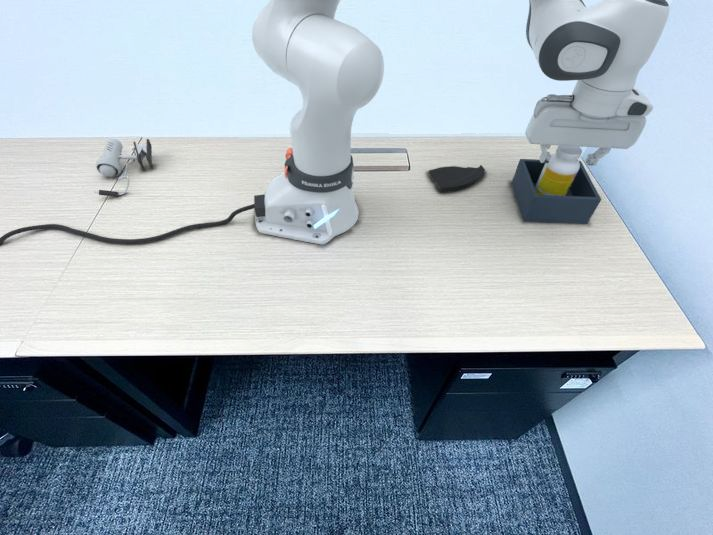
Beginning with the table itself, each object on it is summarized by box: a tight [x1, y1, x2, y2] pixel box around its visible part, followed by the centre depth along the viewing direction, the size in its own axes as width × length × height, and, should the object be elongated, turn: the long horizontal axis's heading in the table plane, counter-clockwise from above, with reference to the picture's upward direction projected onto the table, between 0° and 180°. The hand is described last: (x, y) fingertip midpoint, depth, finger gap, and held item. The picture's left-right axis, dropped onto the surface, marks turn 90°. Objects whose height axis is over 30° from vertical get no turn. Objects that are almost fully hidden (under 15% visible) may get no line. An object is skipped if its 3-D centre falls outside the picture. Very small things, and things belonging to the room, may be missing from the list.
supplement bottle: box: [535, 145, 583, 196], centre depth 86 cm, size 7×7×13 cm
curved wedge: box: [428, 164, 486, 194], centre depth 96 cm, size 8×14×2 cm, turn 103°
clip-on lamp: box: [94, 138, 154, 198], centre depth 95 cm, size 12×6×18 cm
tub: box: [511, 158, 602, 225], centre depth 88 cm, size 14×14×7 cm
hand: (566, 162), depth 82 cm, fingers open, 8 cm apart
